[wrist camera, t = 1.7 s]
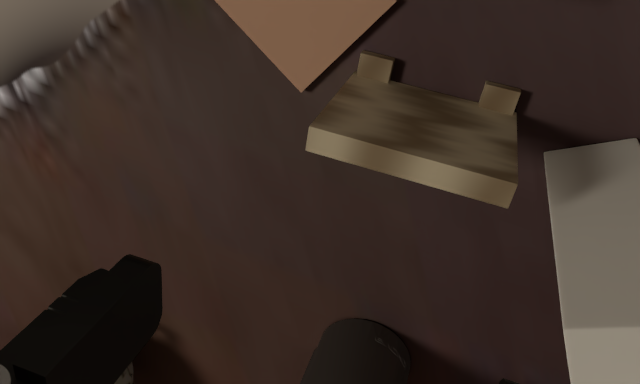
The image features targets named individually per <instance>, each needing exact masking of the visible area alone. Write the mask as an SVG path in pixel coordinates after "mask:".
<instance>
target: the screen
mask: <svg viewBox="0 0 640 384" xmlns="http://www.w3.org/2000/svg"><path fill="white" fill-rule="evenodd" d="M394 61H395V58H393V57H389V56H385V55H381V54H377V53H373V52H369V51H365V50H363V51H362V52H361V55H360V60H359V65H358V70H357V72H356V71H355V72H354V73H353V74H352V76H351V77H350V78H349V79H348V80H347V82H346V83H345V84H344V85H343V86H342V88H341V89H340V90H339V91H338V92H337V94H336V95H335V96H334V97H333V98H332V100H331V101H330V102H329V103H328V104H327V106H326V107H325V108H324V109H323V110H322V112H321V113H320V114H319V115H318V116H317V118H316V119H315V120H314V121H313V122H312V124H311V125H310V126H309V131H308V137H307V144H306V151H309V152H313V153H316V154H319V155H323V156H326V157H330V158H333V159H337V160H340V161H344V162H347V163H351V164H354V165H358V166H361V167H365V168H368V169H372V170H375V171H379V172H382V173H386V174H389V175H393V176H396V177H400V178H403V179H407V180H410V181H414V182H417V183H421V184H424V185H428V186H431V187H434V188H438V189H441V190H445V191H448V192H452V193H455V194H459V195H462V196H466V197H469V198H473V199H476V200H480V201H483V202H487V203H490V204H494V205H497V206H501V207H504V208H508V207H509V205H510V202H511V200H512V197H513V195H514V192H515V190H516V188H517V185H518V163H517V112H514V110H515V107H516V105H517V102H518V99H519V97H520V94H521V89H518V88H514V87H510V86H506V85H502V84H498V83H494V82H490V81H486V83H485V86H484V89H483V92H482V95H481V98H480V101H479V103H477V102H473V101H470V100H466V99H462V98H458V97H454V96H450V95H446V94H442V93H438V92H434V91H430V90H426V89H423V88H419V87H415V86H411V85H407V84H403V83H399V82H395V81H391V80H390V78H391V74H392V70H393V65H394Z"/></svg>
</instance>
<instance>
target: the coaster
mask: <svg viewBox="0 0 640 384" xmlns="http://www.w3.org/2000/svg"><path fill="white" fill-rule="evenodd" d="M215 1H216V2H217V3H218V4H219V5H220V7H221V8H222V9H223V10H224V11H225V12H226V13H227V14H228V15H229V16H230V17H231V18H232V19H233V20H234V21H235V23H236V24H237V25H238V26H239V27H240V28H241V29H242V30H243V31H244V32H245V33H246V34H247V35H248V36H249V38H250V39H251V40H252V41H253V42H254V43H255V44H256V45H257V46H258V47H259V48H260V49H261V50H262V51H263V52H264V54H265V55H266V56H267V57H268V58H269V59H270V60H271V61H272V62H273V63H274V64H275V65H276V66H277V67H278V69H279V70H280V71H281V72H282V73H283V74H284V75H285V76H286V77H287V78H288V79H289V80H290V81H291V82H292V84H293V85H294V86H295V87H296V88H297V89H298V90H299V91H300V92H302V91H303V90H304V89H305V88H307V87H308V86H309V85H310V84H311V83H312V82H313V81H314V80H315V79H316V78H317V77H318V76H319V75H320V74H321V73H322V72H323V71H324V70H325V69H326V68H327V67H328V66H329V65H331V64H332V63H333V62H334V61H335V60H336V59H337V58H338V57H339V56H340V55H341V54H342V53H343V52H344V51H345V50H346V49H347V48H348V47H349V46H350V45H351V44H352V43H353V42H355V41H356V40H357V39H358V38H359V37H360V36H361V35H362V34H363V33H364V32H365V31H366V30H367V29H368V28H369V27H370V26H371V25H372V24H373V23H374V22H375V21H376V20H378V19H379V18H380V17H381V16H382V15H383V14H384V13H385V12H386V11H387V10H388V9H389V8H390V7H391V6H392V5H393V4H394V3H395V2H396V1H397V0H215Z"/></svg>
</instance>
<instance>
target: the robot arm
mask: <svg viewBox="0 0 640 384" xmlns="http://www.w3.org/2000/svg"><path fill="white" fill-rule="evenodd" d="M161 315H162V277H161V266H160V265H159V264H158V263H155V262H152V261H149V260H146V259H143V258H140V257H137V256H134V255H131V254H129V255H126V256H124V257H123V258H122V259H121V260H120V261H119V262H118V263H117V264H116V265H115V266H114V267H113V268H111V269H110V270H109V271H108V270H105V269H102V268H100V269H98V270H96V271H94V272H92V273H90V274H88V275H86V276H84V277H82V278H80V279H78V280H77V281H76V282H75V283H74V284H73V285H72V286H71V287H69V288H68V289H67V290H66V291H65V292H64V293H63V294H62V296H61V298H60V297H58V298H57V299H56V300H55V301H54V302H53V303H52V304H51V305H50V306H49V307H48V310H44V311H43V312H42V313H41V314H40V315H39V316H38V317H37V318H35V319H34V320H33V321H32V322H31V323H30V324H29V325H28V326H27V327H26V328H25V329H23V330H22V331H21V332H20V333H19V334H18V335H17V336H16V337H15V338H14V339H12V340H11V341H10V342H9V343H8V344H7V345H6V346H5V347H4V348H3V349H2V350H0V384H114V383H115V382H116V381H117V380H118V378H119V377H120V376H121V375H122V373H123V372H124V371H125V370H126V368H127V367H128V366H129V364H130V363H131V362H132V361H133V359H134V358H135V357H136V356H137V354H138V353H139V352H140V351H141V349H142V348H143V347H144V346H145V344H146V343H147V342H148V341H149V339H150V338H151V337H152V335H153V334H154V332H155V331H156V329H157V327H158V325H159V322H160V319H161ZM410 360H411V359H410V355H409V352H408V350H407V348H406V346H405V344H404V343H403V342H402V341H401V339H400V338H399V337H398V336H397V335H395V334H394V333H393V332H392V331H391V330H389V329H387V328H386V327H384V326H382V325H380V324H377V323H375V322H372V321H367V320H363V319H346V320H342V321H338V322H336V323H334V324H332V325H331V326H329V327H328V328H327V329H326V330H325V332H324V334H323V336H322V338H321V340H320V342H319V345H318V347H317V349H315V350H314V352H313V354H312V357H311V359H310V361H309V364H308V366H307V368H306V371H305V373H304V376H303V378H302V380H301V383H300V384H407V380H408V375H409V370H410ZM499 384H519V383H516V382H513V381H510V380H507V379H504V378H503V379H502V380H501V381H500V383H499Z"/></svg>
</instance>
